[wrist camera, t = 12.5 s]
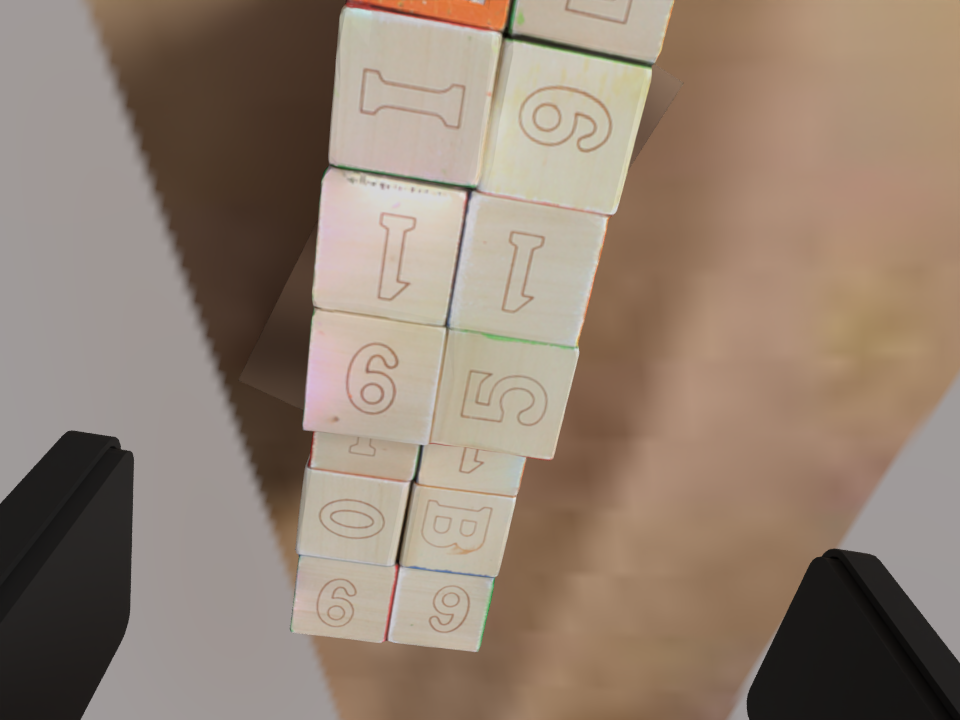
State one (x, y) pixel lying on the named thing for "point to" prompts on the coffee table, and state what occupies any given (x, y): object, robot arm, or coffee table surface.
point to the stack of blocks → (453, 291)
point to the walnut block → (287, 330)
